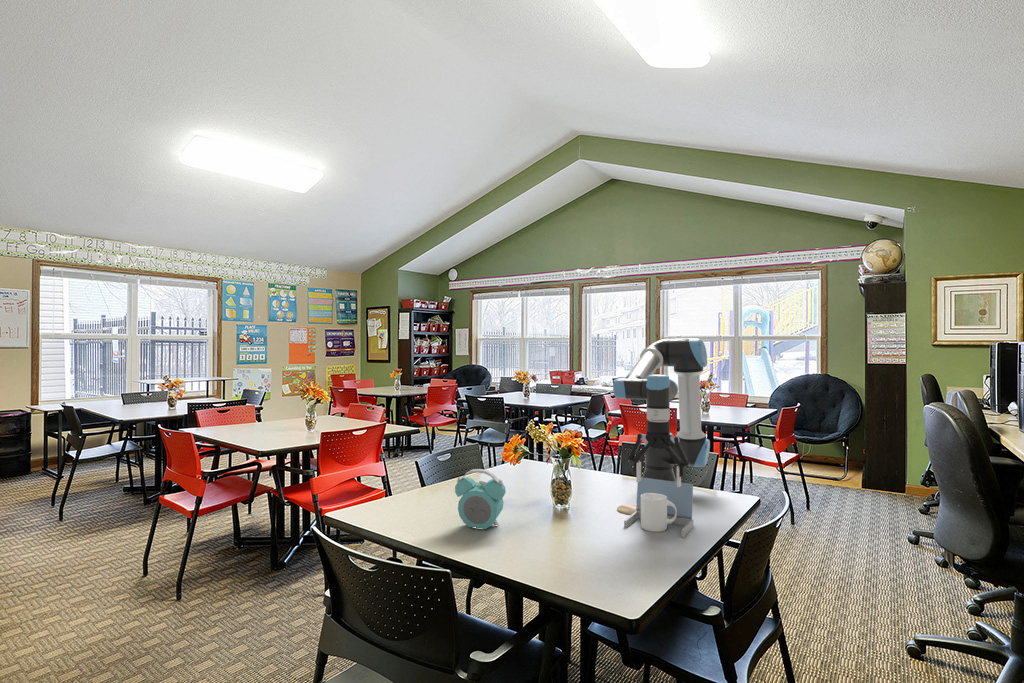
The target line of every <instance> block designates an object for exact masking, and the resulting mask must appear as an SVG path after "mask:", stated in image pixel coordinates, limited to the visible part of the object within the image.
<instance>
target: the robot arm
mask: <svg viewBox="0 0 1024 683" xmlns="http://www.w3.org/2000/svg"><path fill="white" fill-rule="evenodd" d="M707 365H708V353H707V348H706V345H705V343H704V341H703V340H702V339H700V338H694V337H686V338H662V339H659V340H656V341H653V342H652V343H651V344H649V345H647V346H646V347H645V348H644V349H643V350H642V351H641V353H640V354H639V359H638V360H637V362H636V363H635V364H634V366H633V367H632V369H631V370H630V371H629V373H628V374H627V375H626V376H625V378H624V377H619V378H615V380H614V382H613V386H612V390H613V395H614V397H615V398H616V399H622V400H641V401H642V400H645V401H646V420H647V421H646V434H644V433H642V432H640V433H637V436H636V441H635V444H634V445H633V448H631V451H630V453H629V456H628V458H627V460H629V461H632V462H633V471H634V472H636V483H638V482H640V481H641V478H649V479H657V480H665V481H673V482H677V487H680V486H681V483H682V478H683V477H684V476H685V467H694V468H695V467H696V468H703V467H706V465H707V464H708V461H709V455H710V449H711V440H710V439H708V438H706V433H704V431H702V410H701V409H702V408H701V406H702V405H701V382H700V381H701V380H700V379H701V378H700V376H701V374H702V373H703V372H704V368H705V367H707ZM661 367H673V372H674V373H675V374H676V375H677V382H675V381H674V380H673V379H670V377H669V375H666V374H654V372H655V371H656V370H657V369H660V368H661ZM677 395H678V411H679V414H678V415H679V431H678V432H677V433H676V435H675V436H674V434H673V433H672V432H671V423H670V417H671V412H670V407H671V406H670V401H671V400H673V399H674V398H676V396H677ZM643 441H644V446H643V448H642V450H640V452H639V453H638V454H637V452H638V450H639V448H640V446H641V444H642V442H643ZM636 454H637V455H636ZM643 456H644V471H643V474H642V461H640V460H641V459H642V458H643ZM674 465H677V466H676V475H675V472H674V469H673V468H674Z"/></svg>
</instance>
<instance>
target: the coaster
mask: <svg viewBox="0 0 1024 683" xmlns="http://www.w3.org/2000/svg"><path fill="white" fill-rule="evenodd" d="M636 506H637V504H635V505H633V504H623V505H620V506H617V508H616V510H617V512H618V513H621V514H624V515H629V516H630V515H632V514H633V513H634V512H635V511H636Z"/></svg>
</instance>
